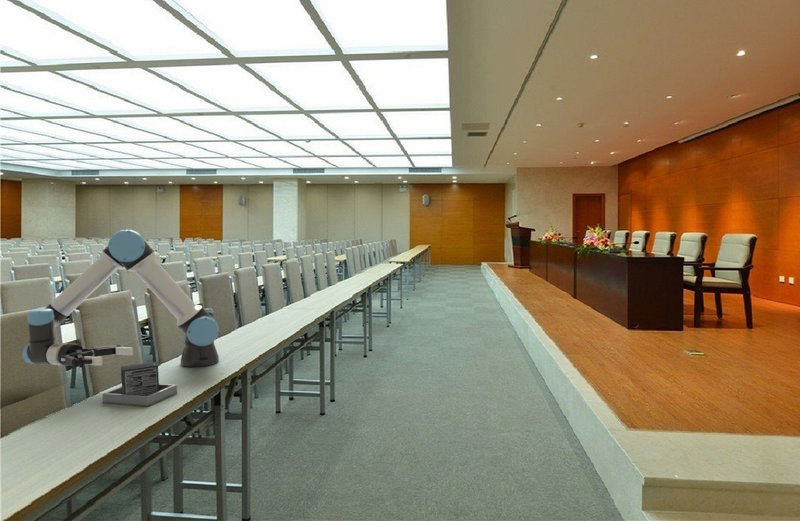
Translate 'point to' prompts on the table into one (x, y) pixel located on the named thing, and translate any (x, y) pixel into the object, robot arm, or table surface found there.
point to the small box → (140, 379)
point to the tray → (135, 400)
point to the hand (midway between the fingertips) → (117, 356)
